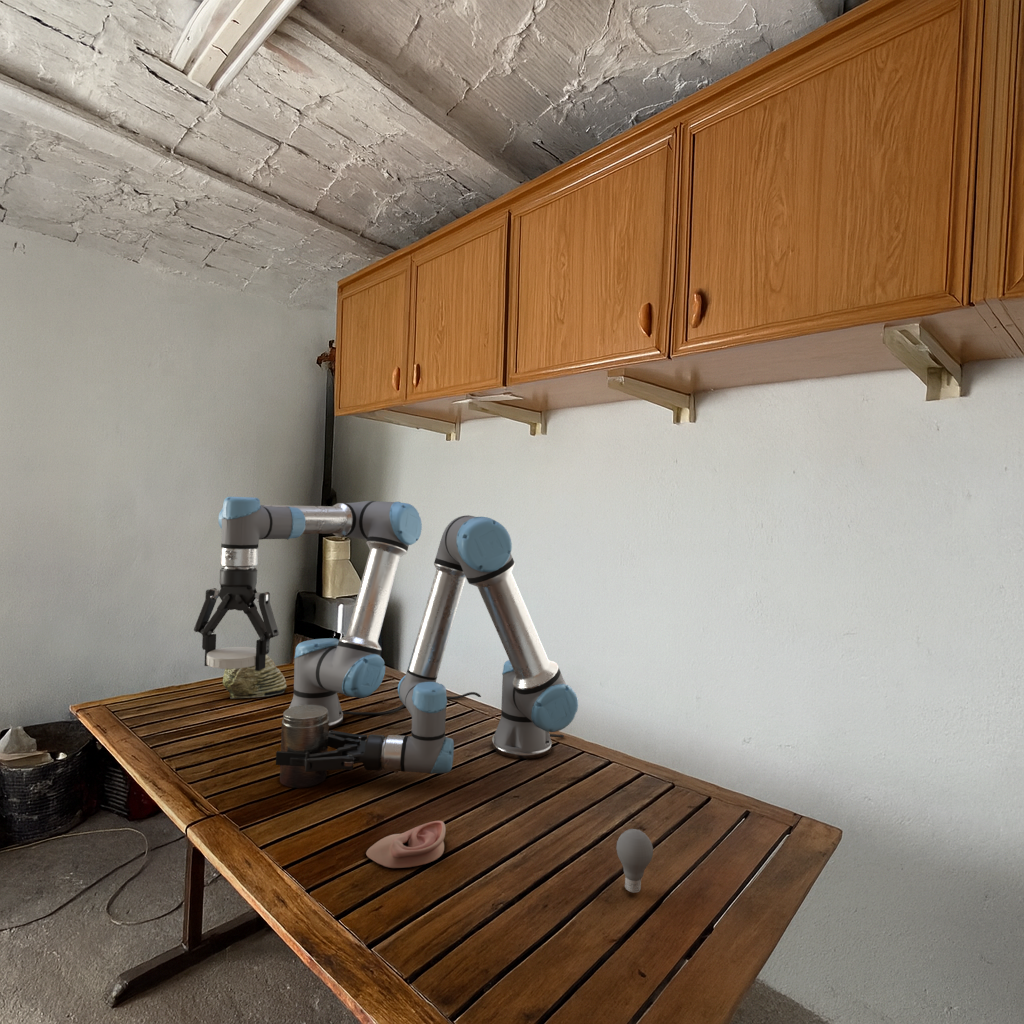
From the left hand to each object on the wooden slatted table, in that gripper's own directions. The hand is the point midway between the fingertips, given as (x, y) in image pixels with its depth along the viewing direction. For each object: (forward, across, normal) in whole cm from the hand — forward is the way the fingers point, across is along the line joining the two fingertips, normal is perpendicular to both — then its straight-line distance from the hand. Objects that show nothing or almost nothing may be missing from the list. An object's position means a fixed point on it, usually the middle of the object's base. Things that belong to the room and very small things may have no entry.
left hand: (234, 666), depth 139 cm
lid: (-3, 0, 0) cm, 3 cm away
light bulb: (+25, +86, -22) cm, 92 cm away
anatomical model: (+25, +46, -18) cm, 56 cm away
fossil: (+25, -27, +56) cm, 67 cm away
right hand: (+19, +10, +5) cm, 22 cm away
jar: (+25, +14, +5) cm, 30 cm away
